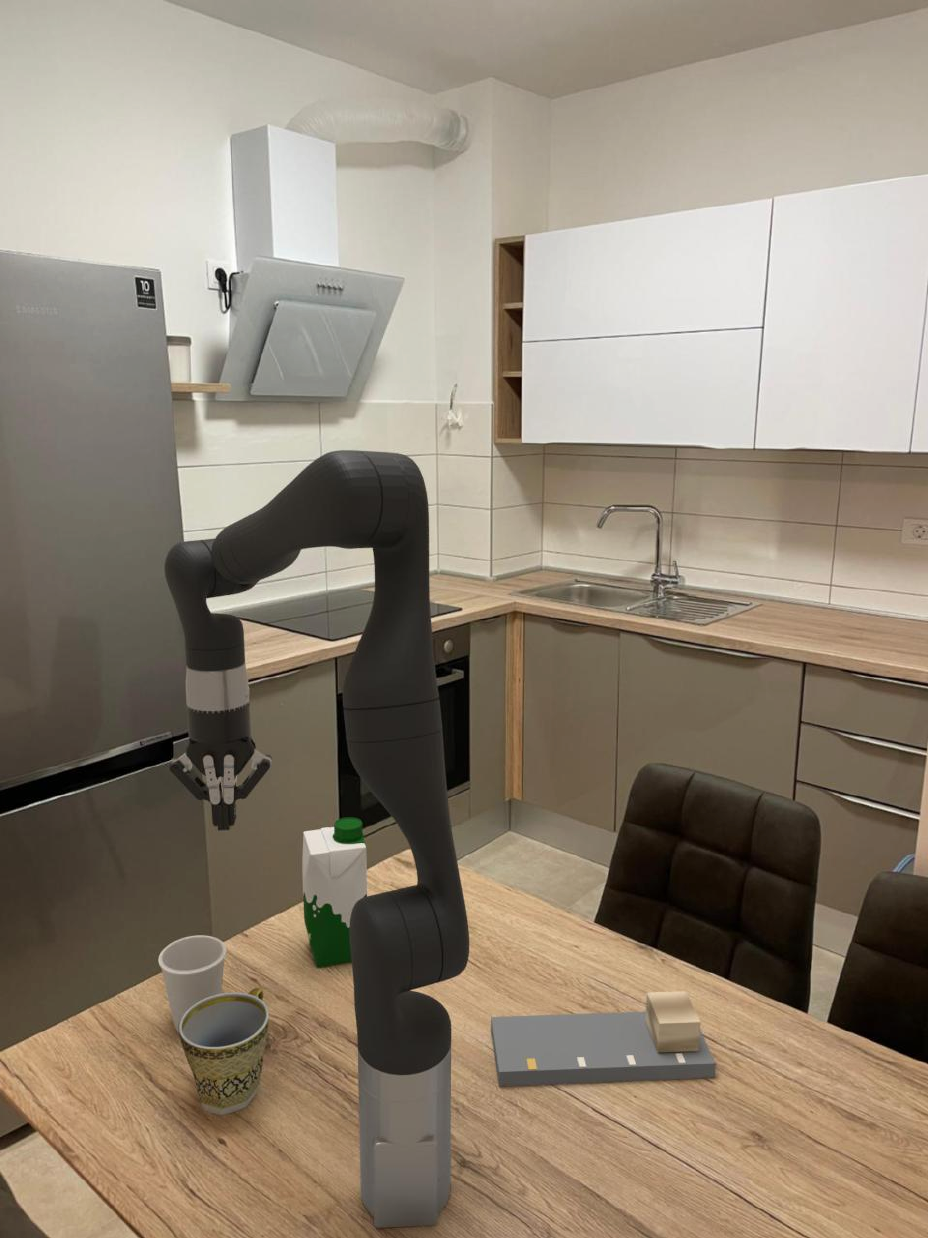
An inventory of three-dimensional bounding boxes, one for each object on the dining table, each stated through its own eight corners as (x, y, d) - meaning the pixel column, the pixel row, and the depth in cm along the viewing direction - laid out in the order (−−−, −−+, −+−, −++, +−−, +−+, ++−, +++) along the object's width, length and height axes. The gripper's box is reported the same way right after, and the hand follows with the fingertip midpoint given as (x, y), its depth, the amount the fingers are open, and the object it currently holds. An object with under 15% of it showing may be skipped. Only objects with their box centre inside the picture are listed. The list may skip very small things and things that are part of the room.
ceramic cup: (242, 1136, 102) (238, 1057, 99) (165, 1113, 105) (159, 1036, 103) (300, 1059, 114) (297, 987, 111) (229, 1041, 117) (225, 970, 114)
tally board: (714, 1077, 111) (715, 1062, 110) (498, 1086, 109) (499, 1071, 109) (689, 1023, 121) (690, 1009, 120) (490, 1030, 119) (491, 1016, 118)
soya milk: (373, 962, 133) (370, 834, 129) (310, 973, 131) (305, 843, 126) (361, 930, 141) (358, 808, 137) (301, 939, 139) (297, 816, 134)
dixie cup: (168, 1050, 115) (163, 979, 113) (159, 1011, 122) (153, 943, 120) (236, 1031, 119) (232, 962, 116) (223, 994, 126) (219, 928, 124)
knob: (698, 1051, 112) (700, 1022, 111) (657, 1052, 112) (659, 1023, 111) (683, 1019, 118) (685, 991, 117) (645, 1020, 118) (646, 992, 117)
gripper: (156, 709, 111) (165, 843, 115) (268, 707, 112) (274, 839, 116) (169, 691, 118) (178, 817, 122) (275, 688, 119) (280, 813, 123)
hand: (225, 827), depth 119 cm, fingers closed
